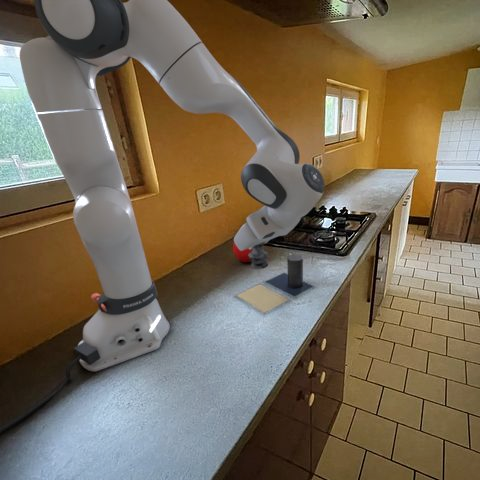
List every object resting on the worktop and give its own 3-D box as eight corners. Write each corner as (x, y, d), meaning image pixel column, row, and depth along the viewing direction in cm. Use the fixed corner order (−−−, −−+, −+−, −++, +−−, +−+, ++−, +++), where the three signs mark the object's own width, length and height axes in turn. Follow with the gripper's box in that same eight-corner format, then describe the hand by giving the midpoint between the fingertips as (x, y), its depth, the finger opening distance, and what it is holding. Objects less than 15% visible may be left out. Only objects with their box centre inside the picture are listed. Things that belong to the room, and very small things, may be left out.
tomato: (254, 252, 128) (253, 228, 123) (269, 261, 119) (267, 236, 115) (229, 259, 123) (226, 234, 118) (242, 269, 114) (239, 243, 109)
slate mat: (294, 297, 95) (294, 296, 94) (265, 282, 104) (265, 281, 104) (313, 287, 100) (313, 286, 100) (284, 274, 109) (284, 272, 109)
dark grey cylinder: (295, 290, 98) (295, 262, 93) (284, 284, 101) (284, 257, 97) (305, 284, 101) (306, 257, 96) (295, 279, 104) (295, 253, 99)
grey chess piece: (266, 270, 87) (264, 230, 82) (247, 269, 88) (243, 230, 83) (270, 261, 92) (268, 223, 87) (252, 260, 94) (249, 223, 88)
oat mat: (264, 314, 87) (264, 312, 87) (236, 296, 97) (235, 295, 96) (288, 300, 93) (288, 299, 93) (259, 285, 103) (259, 284, 102)
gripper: (299, 199, 84) (275, 226, 95) (242, 217, 71) (222, 245, 82) (311, 218, 83) (286, 242, 94) (256, 239, 70) (234, 264, 81)
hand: (256, 244), depth 88 cm, fingers closed on grey chess piece, 3 cm apart
